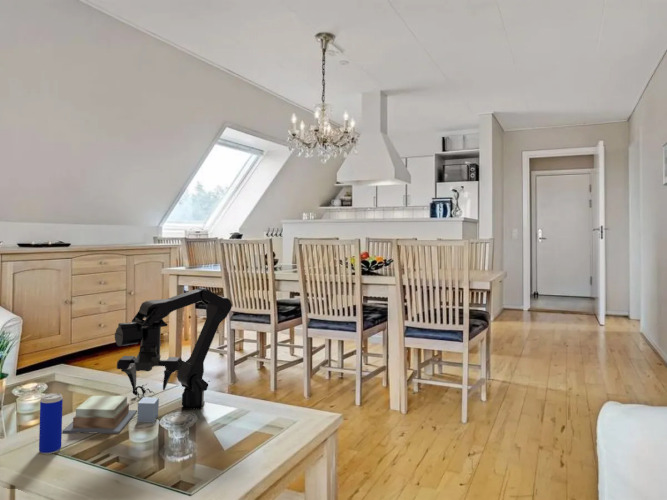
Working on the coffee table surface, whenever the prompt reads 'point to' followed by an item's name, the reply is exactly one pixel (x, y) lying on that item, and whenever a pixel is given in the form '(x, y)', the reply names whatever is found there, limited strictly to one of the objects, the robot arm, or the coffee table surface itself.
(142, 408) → the top block
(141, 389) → the creature
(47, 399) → the beverage can
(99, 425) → the plinth
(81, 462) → the coffee table surface
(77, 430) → the grey square plate
